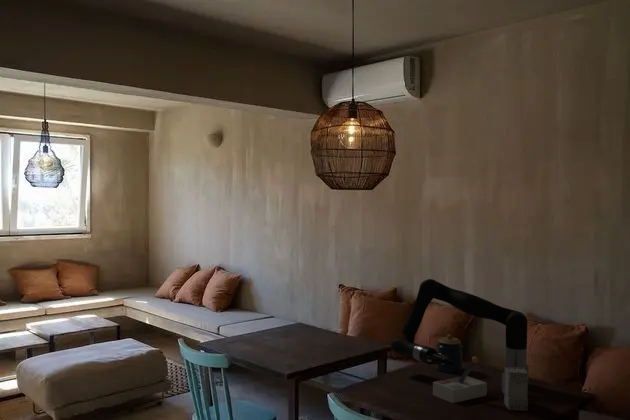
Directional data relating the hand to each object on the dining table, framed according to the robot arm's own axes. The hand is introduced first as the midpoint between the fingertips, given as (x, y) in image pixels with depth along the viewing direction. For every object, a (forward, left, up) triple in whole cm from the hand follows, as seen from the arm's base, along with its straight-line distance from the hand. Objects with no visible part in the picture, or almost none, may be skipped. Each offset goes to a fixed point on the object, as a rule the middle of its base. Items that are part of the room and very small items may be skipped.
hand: (452, 363), depth 251 cm
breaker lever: (-2, +4, -7) cm, 8 cm away
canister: (-13, -34, -13) cm, 38 cm away
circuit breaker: (-20, +17, -13) cm, 29 cm away
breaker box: (-2, +4, -13) cm, 13 cm away
